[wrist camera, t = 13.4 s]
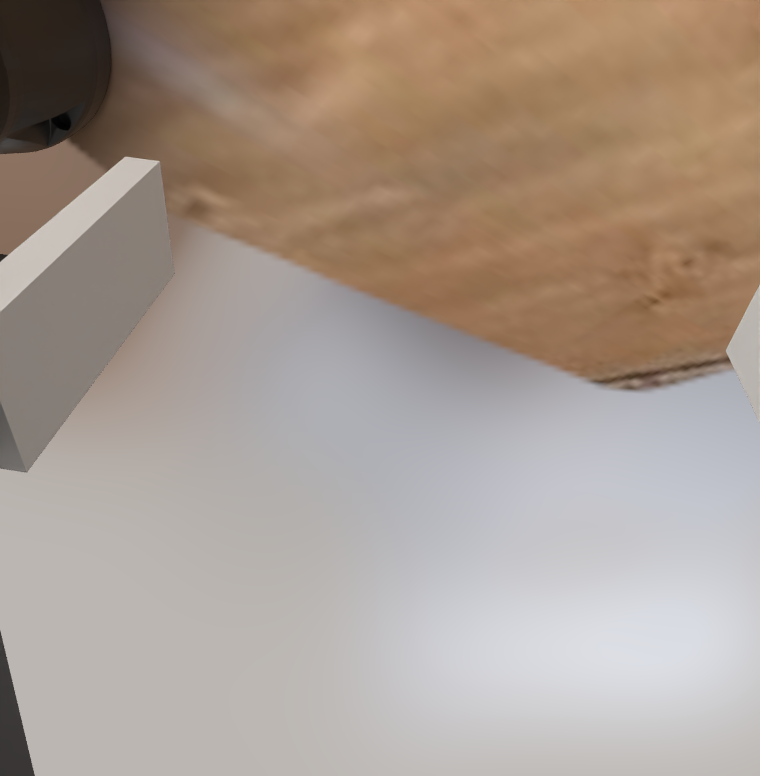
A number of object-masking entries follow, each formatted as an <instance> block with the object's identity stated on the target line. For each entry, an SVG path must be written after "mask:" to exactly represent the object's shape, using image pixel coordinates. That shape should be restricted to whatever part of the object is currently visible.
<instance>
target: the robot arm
mask: <svg viewBox="0 0 760 776" xmlns="http://www.w3.org/2000/svg"><path fill="white" fill-rule="evenodd" d="M109 75H110V43H109V36H108V31H107V26H106V22H105V18H104V14H103V11H102V8H101V5H100V2H99V0H0V154H7V153H26V152H34V151H39V150H42V149H46V148H49V147H52V146H54V145H56V144H58V143H60V142H62V141H64V140H65V139H67V138H68V137H70V136H71V135H73V134H74V133H76V132H77V131H79V130H80V129H81V128H82V127H84V126H85V125H86V124H87V123H88V122H89V121H90V120H91V119H92V117H93V116H94V115H95V113H96V112H97V110H98V109H99V107H100V105H101V103H102V101H103V98H104V96H105V93H106V90H107V86H108V81H109ZM174 274H175V273H174V266H173V258H172V251H171V242H170V235H169V227H168V219H167V212H166V204H165V196H164V189H163V181H162V173H161V166H160V161H155V160H147V159H140V158H132V157H124V158H123V159H122V160H121V161H119V162H118V163H117V164H116V165H115V166H114V167H112V168H111V169H110V170H109V171H108V172H106V173H105V174H104V175H103V176H102V177H100V178H99V179H98V180H97V181H96V182H95V183H93V184H92V185H91V186H90V187H89V188H87V189H86V190H85V191H84V192H83V193H81V194H80V195H79V196H78V197H77V198H76V199H74V200H73V201H72V202H71V203H70V204H68V205H67V206H66V207H65V208H64V209H62V210H61V211H60V212H59V213H58V214H57V215H56V216H54V217H53V218H52V219H51V220H50V221H48V222H47V223H46V224H45V225H43V226H42V227H41V228H40V229H39V230H38V231H36V232H35V233H34V234H33V235H32V236H30V237H29V238H28V239H27V240H26V241H25V242H23V243H22V244H21V245H20V246H19V247H17V248H16V249H15V250H14V251H13V252H11V253H10V254H9V255H3V254H0V468H1V469H8V470H15V471H21V472H28V470H29V469H30V468H31V466H32V465H33V463H34V462H35V461H36V459H37V458H38V457H39V455H40V454H41V453H42V451H43V450H44V449H45V447H46V446H47V445H48V443H49V442H50V441H51V439H52V438H53V437H54V435H55V434H56V432H57V431H58V430H59V429H60V427H61V426H62V425H63V423H64V422H65V420H66V419H67V418H68V416H69V415H70V414H71V412H72V411H73V410H74V408H75V407H76V406H77V404H78V403H79V402H80V400H81V399H82V398H83V396H84V395H85V393H86V392H87V391H88V389H89V388H90V387H91V386H92V384H93V383H94V381H95V380H96V379H97V377H98V376H99V375H100V373H101V372H102V371H103V369H104V368H105V366H106V365H107V364H108V362H109V361H110V360H111V359H112V357H113V356H114V354H115V353H116V352H117V350H118V349H119V348H120V346H121V345H122V344H123V342H124V341H125V340H126V338H127V337H128V336H129V334H130V333H131V332H132V330H133V329H134V328H135V326H136V325H137V323H138V322H139V321H140V319H141V318H142V317H143V316H144V314H145V313H146V311H147V310H148V309H149V307H150V306H151V305H152V303H153V302H154V301H155V299H156V298H157V297H158V295H159V294H160V293H161V291H162V290H163V289H164V287H165V286H166V285H167V283H168V282H169V281H170V279H171V278H172V277H173V275H174ZM726 352H727V355H728V357H729V359H730V361H731V363H732V365H733V367H734V369H735V372H736V374H737V376H738V378H739V380H740V382H741V384H742V386H743V389H744V391H745V393H746V395H747V397H748V399H749V401H750V403H751V406H752V408H753V410H754V411H755V414H756V416H757V418H758V420H759V422H760V285H759V287H758V289H757V291H756V293H755V295H754V297H753V298H752V300H751V302H750V304H749V306H748V308H747V310H746V312H745V314H744V316H743V318H742V320H741V322H740V324H739V326H738V328H737V330H736V332H735V334H734V335H733V337H732V339H731V341H730V343H729V345H728V347H727V349H726ZM0 776H35V775H34V771H33V767H32V763H31V758H30V754H29V750H28V746H27V741H26V737H25V733H24V729H23V725H22V720H21V716H20V712H19V708H18V704H17V700H16V695H15V691H14V687H13V682H12V678H11V674H10V670H9V665H8V662H7V657H6V653H5V649H4V645H3V641H2V636H1V632H0Z"/></svg>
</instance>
